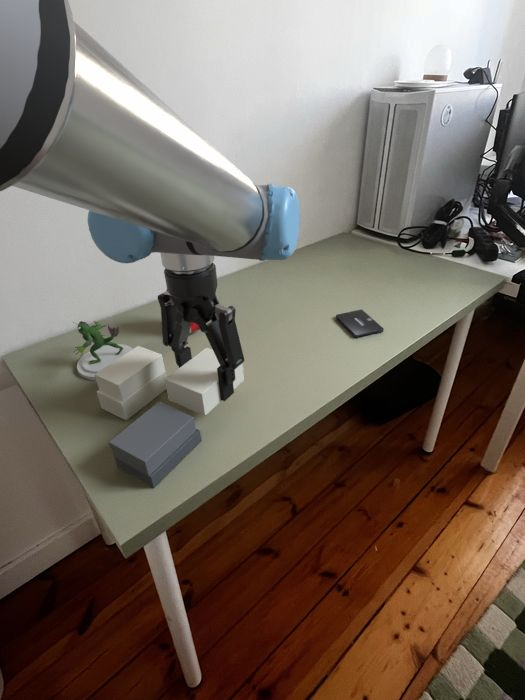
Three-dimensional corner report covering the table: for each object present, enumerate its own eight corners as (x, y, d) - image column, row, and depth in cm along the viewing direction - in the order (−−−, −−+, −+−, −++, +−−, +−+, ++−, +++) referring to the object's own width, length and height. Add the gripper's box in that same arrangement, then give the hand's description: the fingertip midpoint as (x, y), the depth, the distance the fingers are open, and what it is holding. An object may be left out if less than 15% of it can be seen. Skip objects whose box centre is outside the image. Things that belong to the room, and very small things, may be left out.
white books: (126, 420, 76) (116, 387, 72) (101, 408, 79) (90, 375, 75) (169, 386, 83) (162, 354, 79) (145, 376, 87) (137, 345, 82)
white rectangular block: (205, 416, 70) (201, 394, 67) (168, 400, 73) (164, 378, 71) (244, 380, 77) (242, 359, 75) (209, 367, 81) (206, 347, 79)
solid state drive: (361, 311, 104) (361, 309, 103) (384, 331, 96) (384, 329, 95) (335, 317, 102) (335, 314, 102) (355, 338, 94) (356, 335, 94)
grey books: (154, 488, 64) (146, 463, 60) (117, 467, 67) (108, 442, 64) (202, 441, 71) (197, 416, 68) (166, 424, 75) (160, 399, 72)
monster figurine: (91, 347, 97) (78, 306, 91) (143, 346, 96) (133, 305, 90) (68, 380, 87) (51, 337, 81) (126, 380, 86) (113, 336, 80)
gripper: (263, 268, 61) (269, 395, 73) (156, 246, 71) (177, 361, 83) (231, 288, 55) (244, 421, 68) (120, 261, 65) (149, 382, 78)
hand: (207, 388), depth 75 cm, fingers closed on white rectangular block, 8 cm apart
